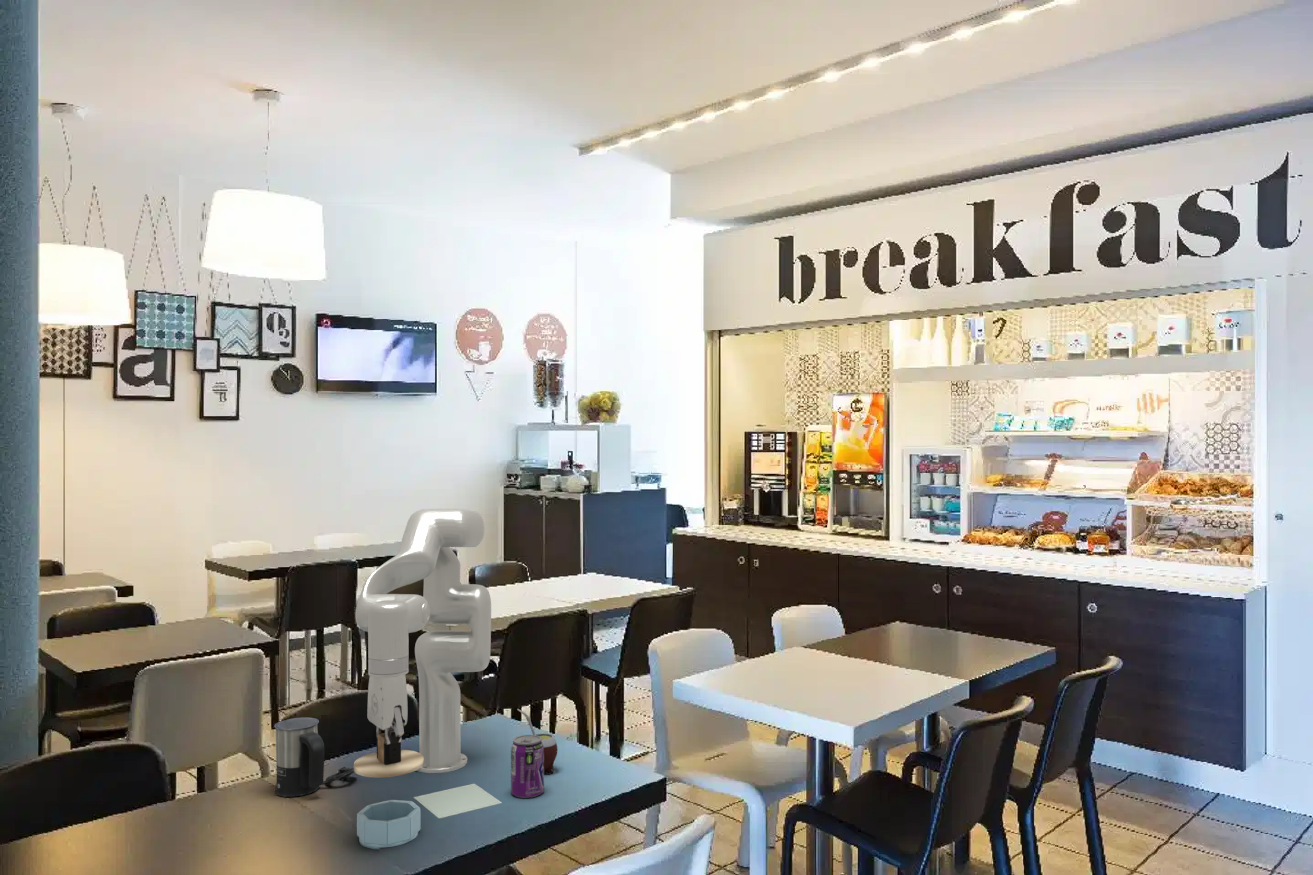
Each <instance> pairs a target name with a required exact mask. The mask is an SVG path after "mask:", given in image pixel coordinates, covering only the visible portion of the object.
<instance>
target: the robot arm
mask: <svg viewBox="0 0 1313 875" xmlns="http://www.w3.org/2000/svg"><path fill="white" fill-rule="evenodd" d="M484 534H485V523H484V519H483V517H482V514H480V512H478V511H475V510H470V509H464V508H424V509H419V510H416V511H414V512H413V513H412V514H410V516H409V518H408V520H407V522H406V526H405V529H404V531H403V534H402V538H401V541H400V544H399V546H398V550H397V553H396V555H395V556H393V557H391V558H390V559H388V560H387V561H385V562H384V563H383V564H381V565H380V566H378V567H377V568H376V569H375V570H374V571H372V572H371V573H370V574H369V575H368V577H367V578H366V580H365V581H364V584H363V585H362V588H361V592H360V593H359V597H358V600H357V604H356V607H355V622H356V625H357V626H358V628H359V629H360V630H362V631H364V632H366V633H367V636H368V637H367V639H368V640H367V644H368V646H367V648H368V649H367V650H368V651H367V653H368V656H367V657H368V660H367V662H368V671H367V672H368V674H367V675H368V676H369V679H368V687H367V688H368V689H367V710H366V711H367V714H366V716H367V719H368V721H369V722H370V723H372V724H373V725H374V726H375V727H376V731H375V733H376V734H375V735H376V752H377V759H378V734H381V733H385V741H386V744H384V764H385V765H389V764H394V763H399V762H401V750H402V739H403V738H402V736H403V735H404V734H405V731H404V727H406V725H407V723H408V709H409V708H408V690H407V680H406V678H407V677H406V674H408V673H410V672H409V670H410V669H409V663H410V662H409V661H410V660H409V659H410V658H409V648H410V647H409V634H410V633H416V632H418V631H420V630H422V629H423V628H424V627H426V625H427V623H429V624H432V625H440V626H442V625H443V626H444V625H445V626H455V625H456V626H458V625H459V626H461V625H466V626H468V627H469V629H470V630H431V631H427V632H424V633H423V634H421V635H420V636H418V638H417V639H416V642H415V646H414V656H415V662H416V668H417V674H418V676H417V677H418V694H419V695H418V696H419V697H418V699H419V700H418V701H419V704H418V705H419V706H418V707H419V710H418V711H419V713H418V715H419V717H418V719H419V720H418V722H419V723H418V725H419V726H418V727H419V728H418V729H419V730H418V731H419V737H418V739H419V740H418V741H419V742H418V743H419V745H418V746H419V748H418V749H419V752H418V753H420V754H422V755H423V757H424V763H423V766H422V767H421V768H419V769H418V770H416V771H417V772H420V773H426V774H441V773H449V772H453V771H454V772H455V771H456V770H459V769H461V768H464V767H465V766H466V765H467V764H468V757H467V755H465V754H464V753H461V752H462V751H461V744H462V743H461V742H462V741H461V689H460V685H459V683H458V681H457V680H456V678H455V676H453V674H452V673H457V672H458V673H475V672H482V671H485V669H487V667H488V666H489V663H490V659H491V644H492V643H491V642H492V641H491V640H492V638H491V636H492V600H491V598H492V597H491V594H490V592H489V590H488V588H487V587H486V586H484V585H482V584H474V583H472V584H471V583H470V584H468V583H467V584H466V583H465V584H462V583H461V562H460V560H459V558H458V556H457V555H456V553H455V552H454V550H453V549H452V548H476V547H478V546H479V545H480V544H481V542H482V541H483V539H484ZM421 580H423V594H422V595H423V596H422V595H419V594H413V593H411V594H409V593H408V594H407V593H406V594H405V593H404V594H403V593H391V592H392V591H394V590H396V589H399V588H402V587H405V586H408V585H411V584H414V583H416V582H419V581H421ZM393 724H394V725H393ZM392 731H394V732H392ZM390 732H391V734H390Z"/></svg>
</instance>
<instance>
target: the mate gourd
mask: <svg viewBox="0 0 1313 875" xmlns="http://www.w3.org/2000/svg"><path fill="white" fill-rule="evenodd" d="M516 710H517V711H518V712H520V713H521V714H522V715H523V716H524V717H525V719H526V721H527V722H528V725H529V728H530V730H531V733H532V735H537V736H540V737H541V738H542V741H541V742H542V744H543V746H544V774H547V773H548V775H554V770H553V768H554V763H555V760H556V758H557V754H558V744H557V740H556V738H555V737H554V735H552V734H549V733H538V734H536V732H535V729H534V727H533V724H532V721H531V717H530V716H529V715H528V714H527V713H526V711H525V712H524V711H523V710H521V709H519V708H517V709H516Z"/></svg>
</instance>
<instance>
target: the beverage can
mask: <svg viewBox="0 0 1313 875" xmlns="http://www.w3.org/2000/svg"><path fill="white" fill-rule="evenodd" d="M541 741H542V738H541V737H540V736H537V735H533V734H523V735H518V736H516V737H514V738H513V739H512V745H511V747H510V793H511V795H513V796H515V797H517V798H521V799H528V798H531V799H532V798H535V797H538V796H539V795H542V794H543V793H544V792H545V773H544V746H543V744H542V742H541Z"/></svg>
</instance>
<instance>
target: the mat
mask: <svg viewBox="0 0 1313 875" xmlns="http://www.w3.org/2000/svg"><path fill="white" fill-rule="evenodd" d="M413 799H414V800H416V801H417V802H418V803H420V804H421V806H422V807H424V808H425V809H427V811H429V812H430V813H431V814H433V815H434V816H435V817H436V818H437V819H439V820H440V819H445V818H447V817H452V816H457V815H459V814H464V813H468V812H471V811H475V810H480V809H484V808H488V807H492V806H496V805H500V804H503V802H502V801H500V800H499V799H497V798H496V797H494V796H493V795H491V794H490V793H489V792H488V791H486V790H484V789H483V788H482V787H480V786H478V785H477V784H476V783H471V784H468V785H467V784H466V785H462V786H457V787H453V788H449V789H444V790H440V791H434V792H431V793H430V792H429V793H427V794H422V795H417V796H414V797H413Z"/></svg>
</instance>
